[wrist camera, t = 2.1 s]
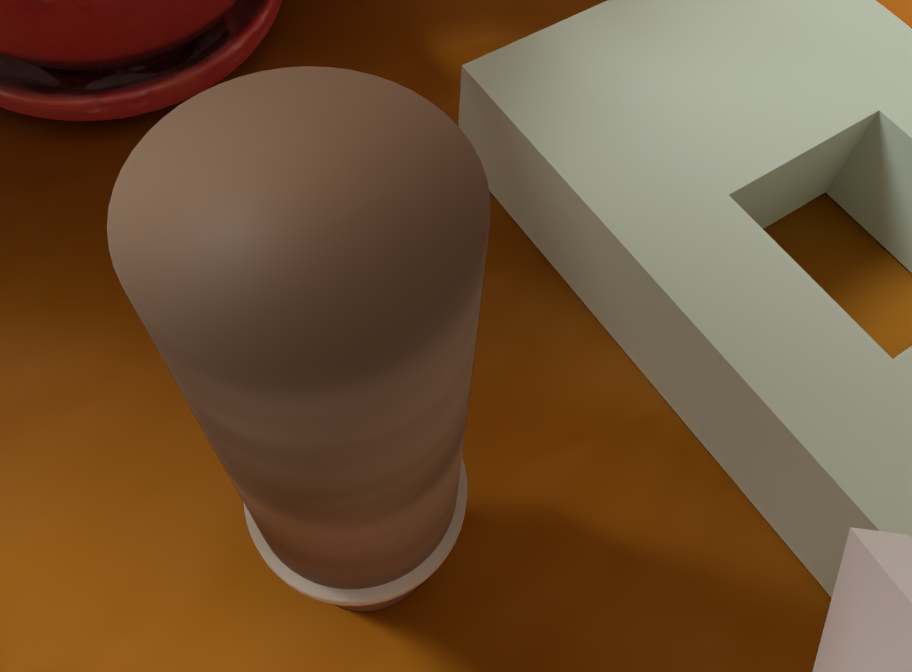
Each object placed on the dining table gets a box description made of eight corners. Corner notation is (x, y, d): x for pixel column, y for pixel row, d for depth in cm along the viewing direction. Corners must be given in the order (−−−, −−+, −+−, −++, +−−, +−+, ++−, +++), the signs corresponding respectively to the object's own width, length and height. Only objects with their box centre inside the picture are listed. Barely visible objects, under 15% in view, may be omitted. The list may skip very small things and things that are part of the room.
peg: (241, 515, 21) (23, 149, 9) (397, 424, 22) (374, 6, 11) (331, 679, 19) (200, 476, 8) (495, 569, 20) (593, 258, 9)
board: (456, 151, 26) (461, 65, 23) (742, 14, 30) (779, -77, 27) (962, 753, 19) (1069, 741, 16) (1267, 471, 22) (1403, 416, 19)
